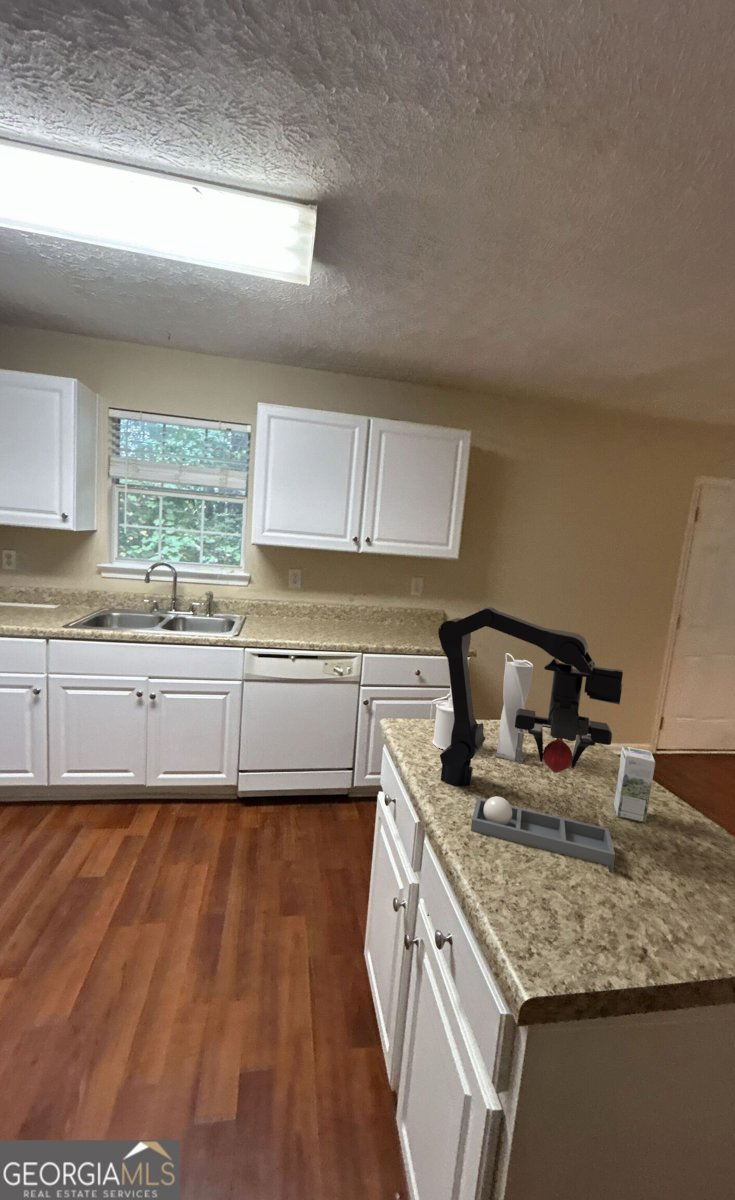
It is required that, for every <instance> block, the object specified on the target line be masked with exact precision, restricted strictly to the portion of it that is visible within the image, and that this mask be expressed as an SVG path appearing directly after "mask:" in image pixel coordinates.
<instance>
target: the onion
mask: <svg viewBox="0 0 735 1200" xmlns="http://www.w3.org/2000/svg"><path fill="white" fill-rule="evenodd" d="M572 756H573V752H572V750H571V749H570V747H569V745H568V744H567V743H566V742H564V739H561V738H558V739H557V738H555V740H553V741H550V742H549V743H547V744H546V746H545V747H544V748H543V761H544V764H545V765H546V766H547V767H548V769H550V770H551V771H552V772H553V773H554V774H558V773H561V772H564V771H565V770H567V769H569V767H571V762H572Z"/></svg>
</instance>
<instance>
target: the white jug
mask: <svg viewBox="0 0 735 1200" xmlns="http://www.w3.org/2000/svg"><path fill="white" fill-rule="evenodd" d="M449 686H450V687H449V688H450V689H449V693H447V695H446V696H443V697H442V696H441V697H438V698H434V699H432V701H431V707H430V715H429V728H431V725H432V716H433V704H434V702H435V707H436V711H435V723H434V731H433V739H432V745H433V744H434V745H435V746H436V747H435V746H434V745H433V746H434V747H435V748H437V749H439V748H440V749H439V750H441V749H443V750H442V751H444V750H445V749H446V748H447V747H448V746H449V745H450V744H451V734H452V729H453V725H454V711H453V702H452V692H451V684H450V685H449ZM445 699H446V700H445Z"/></svg>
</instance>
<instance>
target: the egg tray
mask: <svg viewBox="0 0 735 1200" xmlns="http://www.w3.org/2000/svg"><path fill="white" fill-rule="evenodd" d="M487 800H488V799H484V798H479V797H477V798H476V803H475V807H474V811H473V813H472V818H471V824H470V831H471V832H475V833H479V834H483V835H486V836H491V837H495V838H498V839H503V840H506V841H510V842H513V843H518V844H522V845H526V846H530V847H533V848H537V849H540V850H541V849H542V850H545V851H550V852H553V853H558V854H560V855H565V856H569V857H572V858H575V859H581V860H585V861H588V862H593V863H596V864H600V865H604V866H607V869H608V872H609V873H611V874H613V872H614V865H615V859H616V853H615V847H614V845H613V841H612V840H613V839H612V837H611V833H610V829H609V828H608V827H603V826H598V825H595V824H592V823H591V824H590V823H586V822H582V821H578V820H573V819H569V818H564V817H561V816H560V817H559V816H555V815H552V814H548V813H543V812H538V811H534V810H531V809H527V808H522V807H519V806H518V807H517V806H515V805H514V806H513V805H511V808H512V818H511V820H510V822H509V823H508V824H507V825H501V824H497V823H493V822H489V821H487V820H486V818H485V816H484V811H483V810H484V805H485V803H486V801H487Z"/></svg>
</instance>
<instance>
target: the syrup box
mask: <svg viewBox="0 0 735 1200" xmlns="http://www.w3.org/2000/svg"><path fill="white" fill-rule="evenodd" d="M620 752H621V753H620V759H619V766H618V774H617V780H616V783H615V784H616V786H615V793H614V797H613V798H614V799H613V807H614V811H615V814H616V817H617V818H623V819H626V820H630V821H635V822H639V823H646V821H647V816H648V809H649V802H650V797H651V792H652V784H653V780H654V779H653V778H654V773H655V768H656V761H655V758H654V756H653V754H652V752H651V751H650V750H646V749H640V748H635V747H630V746H629V747H628V746H622V747H621V751H620Z"/></svg>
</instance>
